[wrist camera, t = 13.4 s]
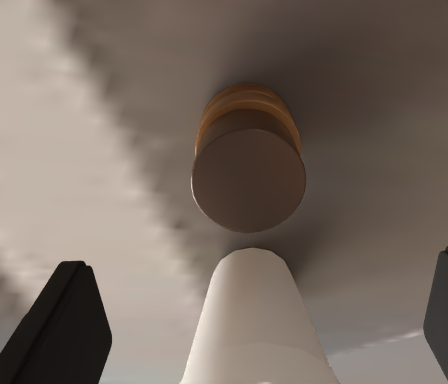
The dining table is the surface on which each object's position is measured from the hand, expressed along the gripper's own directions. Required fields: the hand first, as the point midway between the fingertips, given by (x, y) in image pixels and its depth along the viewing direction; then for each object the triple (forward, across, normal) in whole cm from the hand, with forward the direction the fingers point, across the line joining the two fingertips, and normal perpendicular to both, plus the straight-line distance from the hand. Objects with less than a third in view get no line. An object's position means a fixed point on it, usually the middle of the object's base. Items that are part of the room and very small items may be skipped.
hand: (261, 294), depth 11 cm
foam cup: (+17, 0, +14) cm, 22 cm away
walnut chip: (+12, 0, +1) cm, 12 cm away
